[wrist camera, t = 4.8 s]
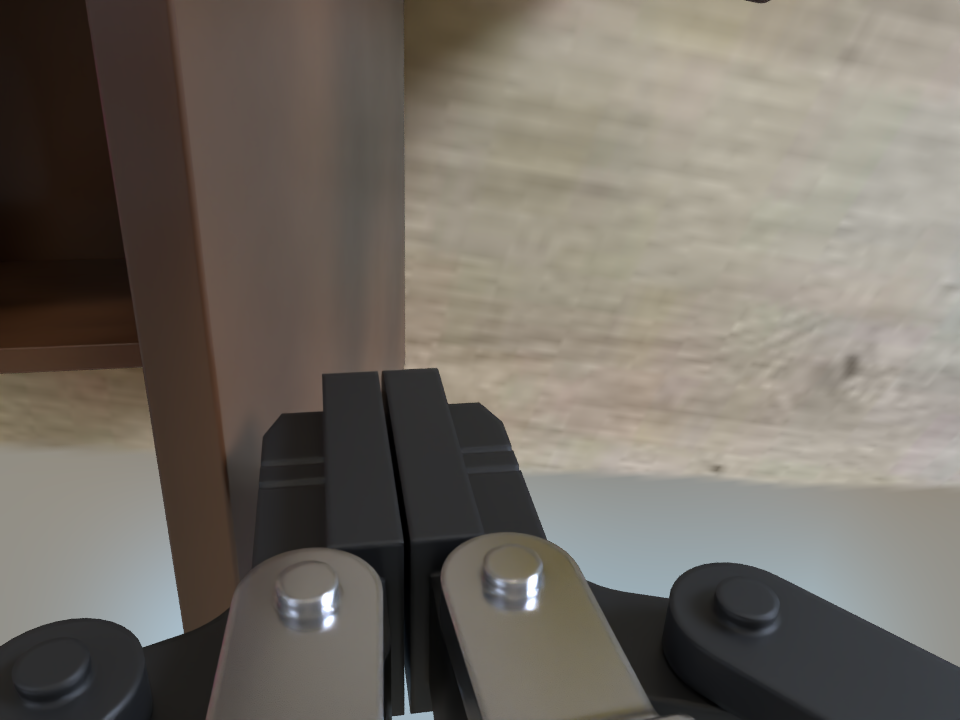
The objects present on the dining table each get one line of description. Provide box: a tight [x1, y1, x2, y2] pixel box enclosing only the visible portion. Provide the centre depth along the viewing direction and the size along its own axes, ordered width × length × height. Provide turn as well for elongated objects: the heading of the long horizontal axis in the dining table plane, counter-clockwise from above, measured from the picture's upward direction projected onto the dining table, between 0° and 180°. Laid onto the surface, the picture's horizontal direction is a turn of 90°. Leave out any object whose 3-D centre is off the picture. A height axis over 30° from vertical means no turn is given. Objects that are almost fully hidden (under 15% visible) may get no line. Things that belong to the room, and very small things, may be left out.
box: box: [0, 0, 142, 374], centre depth 26 cm, size 14×12×8 cm
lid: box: [85, 0, 405, 633], centre depth 17 cm, size 14×12×1 cm
